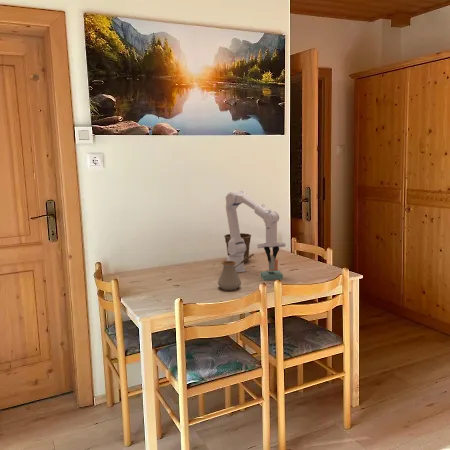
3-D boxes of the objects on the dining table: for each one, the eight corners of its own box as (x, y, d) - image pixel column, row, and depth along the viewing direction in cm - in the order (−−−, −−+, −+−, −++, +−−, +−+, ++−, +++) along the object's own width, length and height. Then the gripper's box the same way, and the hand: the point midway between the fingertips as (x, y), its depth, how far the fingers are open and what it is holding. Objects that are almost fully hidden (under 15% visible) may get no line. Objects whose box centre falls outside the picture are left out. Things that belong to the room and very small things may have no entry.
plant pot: (222, 259, 285) (222, 233, 283) (248, 257, 288) (247, 232, 285) (227, 265, 269) (226, 238, 267) (254, 264, 272) (254, 237, 269)
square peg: (270, 272, 253) (270, 260, 252) (268, 270, 257) (268, 258, 256) (277, 272, 254) (277, 259, 253) (275, 270, 258) (275, 257, 257)
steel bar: (270, 270, 240) (270, 256, 239) (268, 267, 244) (268, 254, 243) (274, 269, 240) (274, 256, 239) (272, 267, 245) (272, 254, 243)
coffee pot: (226, 293, 219) (225, 262, 217) (213, 287, 228) (212, 257, 226) (261, 285, 231) (261, 255, 228) (248, 279, 240) (247, 251, 238)
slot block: (264, 280, 239) (264, 275, 238) (260, 276, 246) (260, 271, 246) (282, 279, 240) (282, 274, 240) (278, 275, 248) (278, 270, 247)
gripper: (259, 237, 234) (259, 263, 237) (287, 236, 237) (287, 262, 239) (256, 235, 241) (256, 260, 244) (283, 233, 243) (283, 258, 246)
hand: (271, 261), depth 242 cm, fingers closed on steel bar, 2 cm apart
